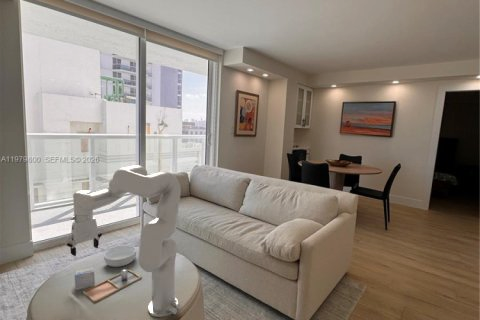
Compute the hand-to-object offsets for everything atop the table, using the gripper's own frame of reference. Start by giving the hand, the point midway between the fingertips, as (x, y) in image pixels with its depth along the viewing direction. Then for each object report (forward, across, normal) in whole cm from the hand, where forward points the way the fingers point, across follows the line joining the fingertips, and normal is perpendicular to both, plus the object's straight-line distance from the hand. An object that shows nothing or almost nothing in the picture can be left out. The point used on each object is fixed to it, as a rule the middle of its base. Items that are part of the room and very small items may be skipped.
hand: (85, 251), depth 119 cm
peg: (+17, +13, -10) cm, 24 cm away
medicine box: (+19, -1, 0) cm, 19 cm away
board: (+19, +8, -10) cm, 23 cm away
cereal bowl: (+19, +22, +8) cm, 30 cm away
